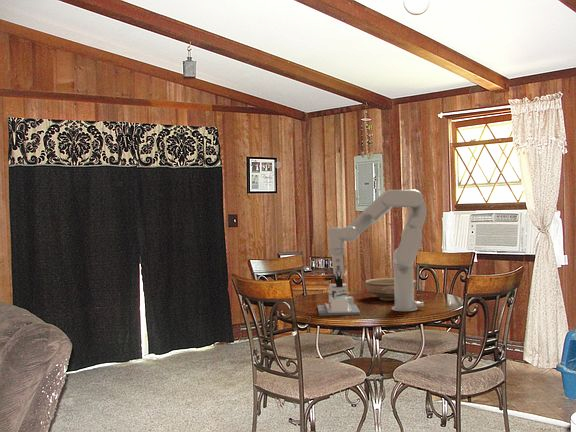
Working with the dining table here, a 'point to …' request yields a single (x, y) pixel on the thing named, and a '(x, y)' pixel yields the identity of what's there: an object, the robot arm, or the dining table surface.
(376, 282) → the ceramic bowl
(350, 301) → the block
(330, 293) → the ink box
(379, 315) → the dining table surface
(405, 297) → the robot arm
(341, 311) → the rail panel
